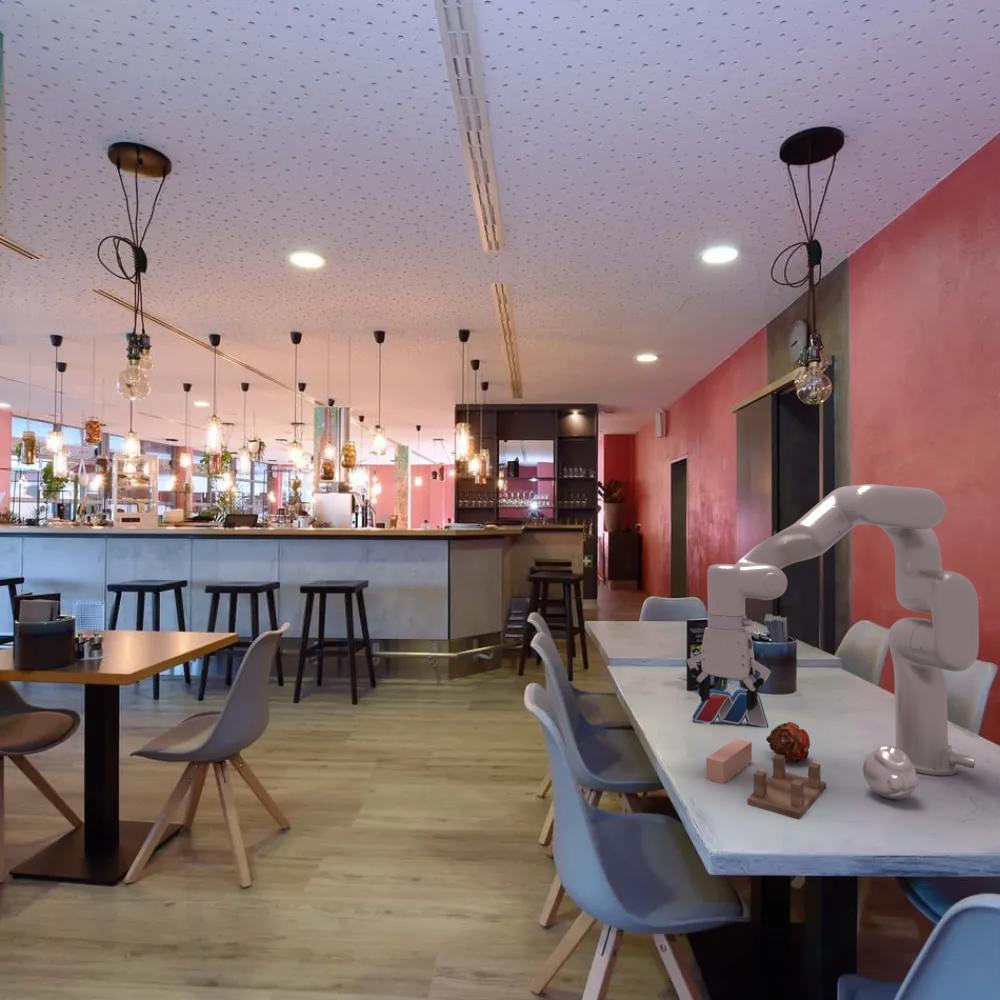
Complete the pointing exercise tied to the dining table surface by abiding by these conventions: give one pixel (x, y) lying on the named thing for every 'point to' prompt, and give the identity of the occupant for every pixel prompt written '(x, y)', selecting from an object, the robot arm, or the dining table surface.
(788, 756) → the dragon fruit
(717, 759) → the clay strip
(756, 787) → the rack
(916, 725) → the robot arm
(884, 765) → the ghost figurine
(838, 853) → the dining table surface
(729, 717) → the logo
